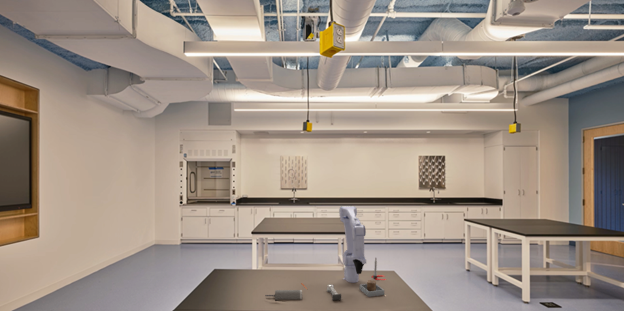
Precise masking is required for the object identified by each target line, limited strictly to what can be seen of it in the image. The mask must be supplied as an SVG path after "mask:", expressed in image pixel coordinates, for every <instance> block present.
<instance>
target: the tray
mask: <svg viewBox="0 0 624 311" xmlns="http://www.w3.org/2000/svg"><path fill="white" fill-rule="evenodd" d="M359 290H360V291H361V292H362V293H363V294H365V296H367V297H375V296H376V297H378V296H385V289H384V288H382V287H381V286H379V284H377V283H376V291H368V290H367V283H360V284H359Z"/></svg>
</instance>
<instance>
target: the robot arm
mask: <svg viewBox="0 0 624 311" xmlns="http://www.w3.org/2000/svg"><path fill="white" fill-rule="evenodd" d="M338 211H339V212H338V213H339V219H340V222H342V223H343V226H344V233H345V234H344V235H345V243H346V249H345V251H343V253H342V258H343V262H342V263H343V266H344V270H343V277H344V278H342V280H346V282H348V283H358V282H359V281H360V276H359V275H361V274H362V272H363V269H364V265H366V264H367V259H366V257H365V237H366V233H367V232H366V226H365V224H362V222H361V221H360V219H359V217H357V214H358V210H357V206H355V205H354V206H349V205H348V206H345V205H344V206H342V205H341V206H340V207H339V209H338Z"/></svg>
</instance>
